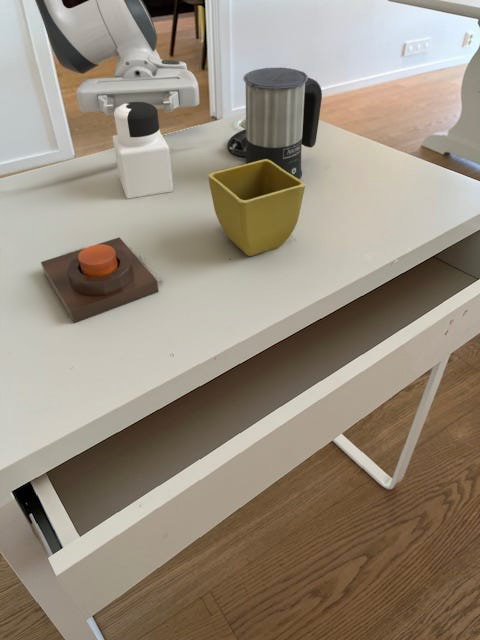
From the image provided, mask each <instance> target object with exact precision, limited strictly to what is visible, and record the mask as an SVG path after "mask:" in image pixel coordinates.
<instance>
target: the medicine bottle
mask: <svg viewBox="0 0 480 640" xmlns="http://www.w3.org/2000/svg"><path fill="white" fill-rule="evenodd" d="M158 112H159V111H158V109H157V108H156V107H155V106H154V105H152V104H149V103H146V102H129V103H125V104H123V105H121V106H119V107H118V108H116V110H115V111H114V115H113V116H114V122H115V123H114V124H115V128H116V134H114V135H113V136H112V142H113V148H114V154H115V161H116V166H117V172H118V176H119V181H120V183H121V186H122V189H123V192H124V195H125V197H126V199H135V198H142V197H148V196H149V197H150V196H153V195H160V194H161V195H162V194H167V193H173V191H174V183H173V174H172V173H173V172H172V163H171V154H170V147H169V145H168V143H167V142H166V140H165V138H164V137H163V134H162V133H161V131H160V130H161V128H160V122H159V113H158Z"/></svg>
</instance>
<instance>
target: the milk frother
mask: <svg viewBox="0 0 480 640" xmlns="http://www.w3.org/2000/svg"><path fill="white" fill-rule="evenodd" d="M242 80H243V82H244V83H245V129H242V130H240V131H238V132H237V133H235V134H233V135H232V136H231V137H230V138H229V139H228V142H227V145H226V147H227V151H228V152H229V154H231V155H232V156H234V157H235V158H238V159H245V164H248V163H252V162H256V161H260V160H264V159H268V160H270V161H272V162H273V163H275V164H276V165H278V166H279V167H280V168H282V169H283V170H285V171H286V172H287V173H289V174H291V175H293V176H294V177H296V178H297V179H299V180H301V178H302V176H303V170H302V146H304V147H306V148H313V147H314V146H315V145H316V142H317V136H318V130H319V122H320V114H321V107H322V100H323V92H322V87H321V85H320V83H319V82H318V81H317V80H315V79H313V78H311V77H309V76H308V74H307V73H305V72H304V71H301V70H298V69H295V68H291V67H290V68H289V67H262V68H257V69H254V70H251V71H249V72H247V73H245V74H244V75H243V77H242Z"/></svg>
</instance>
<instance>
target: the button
mask: <svg viewBox="0 0 480 640" xmlns="http://www.w3.org/2000/svg"><path fill="white" fill-rule="evenodd" d="M98 244H99V245H96V244H93V245H89V246H87V247H84V248H85V249H84V248H82V249H83V250H82V251H81V252H80V253H79V255H78V259H79V263H80V267H81V270H82V273H83V274H84V275H86V276H89V277H95V276H103V275H106V274H109V273H112V272H113V271H115V270H116V269H117V267H118V263H117V258H116V253H115V250H114V249H113V248H112V247H111V246H108V245H102V244H100V243H98Z"/></svg>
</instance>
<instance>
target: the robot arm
mask: <svg viewBox="0 0 480 640" xmlns="http://www.w3.org/2000/svg"><path fill="white" fill-rule="evenodd" d="M34 2H35V5H36V7H37V9H38V11H39V14H40V17H41V20H42V23H43V25H44V28H45V31H46V35H47V38H48V42H49V46H50V48H51V51H52V53H53V55H54V57H55V58H56V60H57V61H58V63H59V64H60V66H61V67H63V68H64V69H67V70H68V71H71V72H74V73H77V74H81V75H85V74H86V73H88V72H90V71H92V70H93V69H95V68H97V67H99V66H100V64H103V63H105V62H107V61H109V60H111V59H114V58H116V57H117V61H116V67H115V72H114V77H100V78H99V77H97V78H96V77H95V78H89V79H85V80H84V81H83V82H82V83H80V85H79V86H78V88H77V89H76V98H77V99H76V100H77V103H78V104H77V105H78V108H79V110H80V111H81V112H82V113H85V114H92V113H104V116H105V117H112V116H114V111H115V110H116V108H118V107H119V106H121V105H123V104H125V103H129V102H146V103H149V104H152V105H154V106H155V107H156V108H157V110H161V109H163V110H164V111H163V112H164V113H174V110H175V109H177V108H194V107H197V106H199V105H200V89H199V83H198V80H197V78H196V76H195V75H194V73H193V72H192V71H191V70H188V66H187V63H186V62H184V61H178V60H170V59H169V60H168V59H161V57H160V54H159V53H158V51H157V49H156V48H157V43H158V34H157V30H156V28H155V25H154V22H153V19H152V17H151V14H150V13H149V10H148V8H147V6H146V5H145V3H144V1H143V0H87V1H84V2H82V3H80V4H78V5H76V6H73V7H71V8H70V7H69V8H68V7H67V6H65V5H64V2H63V0H34Z"/></svg>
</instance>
